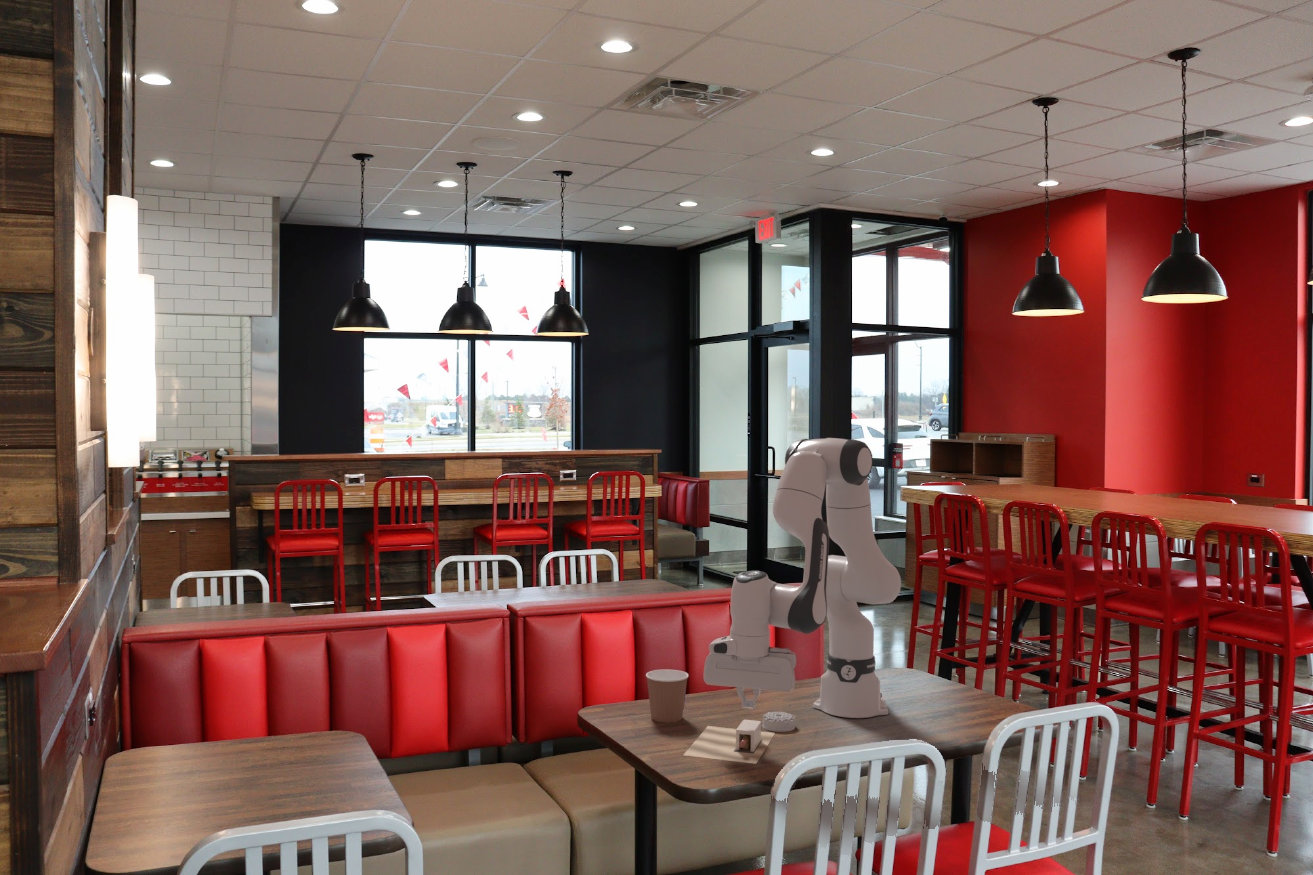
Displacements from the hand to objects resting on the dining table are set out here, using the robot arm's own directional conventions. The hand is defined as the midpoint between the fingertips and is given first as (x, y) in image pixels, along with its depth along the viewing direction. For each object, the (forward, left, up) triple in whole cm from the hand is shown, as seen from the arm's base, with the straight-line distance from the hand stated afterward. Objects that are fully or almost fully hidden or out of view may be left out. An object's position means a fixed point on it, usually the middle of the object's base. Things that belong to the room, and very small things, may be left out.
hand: (748, 707), depth 227 cm
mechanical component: (-16, +4, -11) cm, 20 cm away
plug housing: (+1, 0, -8) cm, 9 cm away
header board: (0, -4, -10) cm, 11 cm away
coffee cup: (-14, -23, -10) cm, 29 cm away
